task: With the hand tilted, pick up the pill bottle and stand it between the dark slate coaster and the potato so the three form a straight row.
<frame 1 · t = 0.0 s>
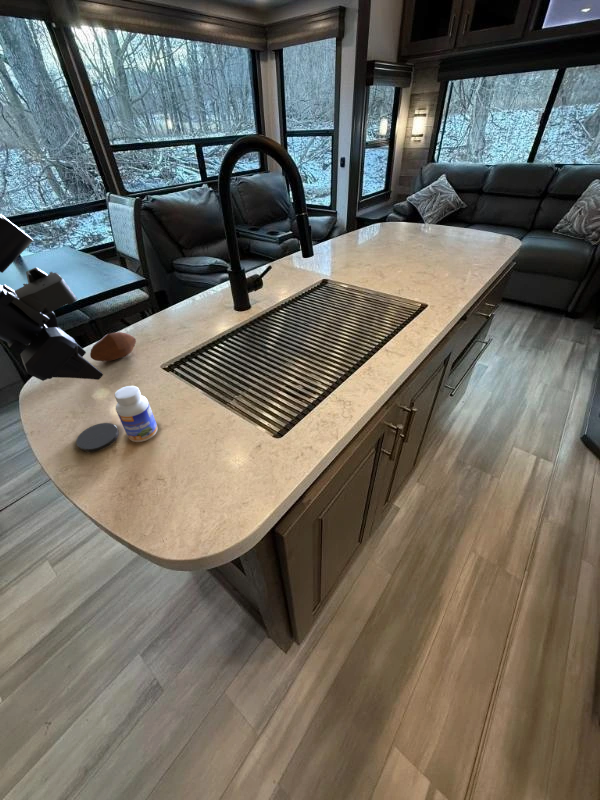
hand: (92, 365, 53), 16 cm above the worktop, tool tilted 35°, fingers open, 9 cm apart
potato: (117, 357, 86), on the worktop
coaster: (98, 438, 62), on the worktop
pill bottle: (143, 433, 64), on the worktop
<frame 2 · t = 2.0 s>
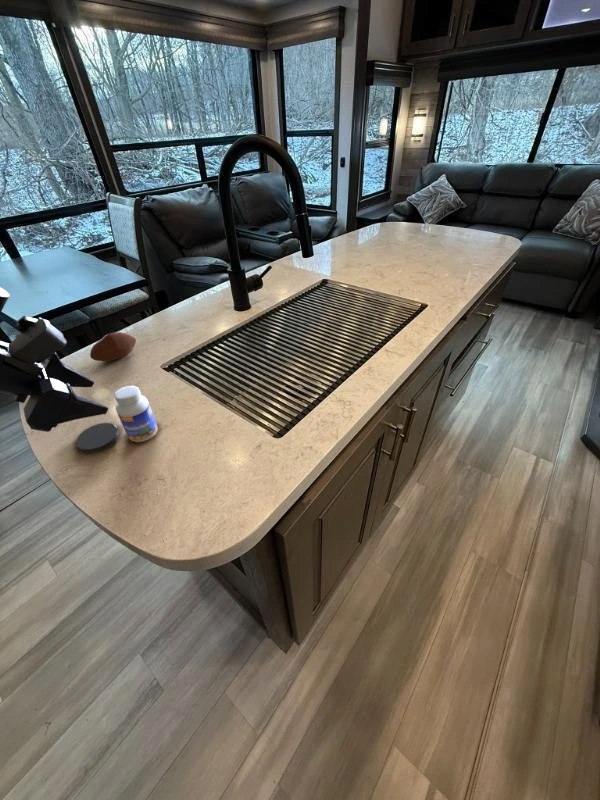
hand: (99, 396, 55), 11 cm above the worktop, tool tilted 45°, fingers open, 9 cm apart
nothing on the worktop moved.
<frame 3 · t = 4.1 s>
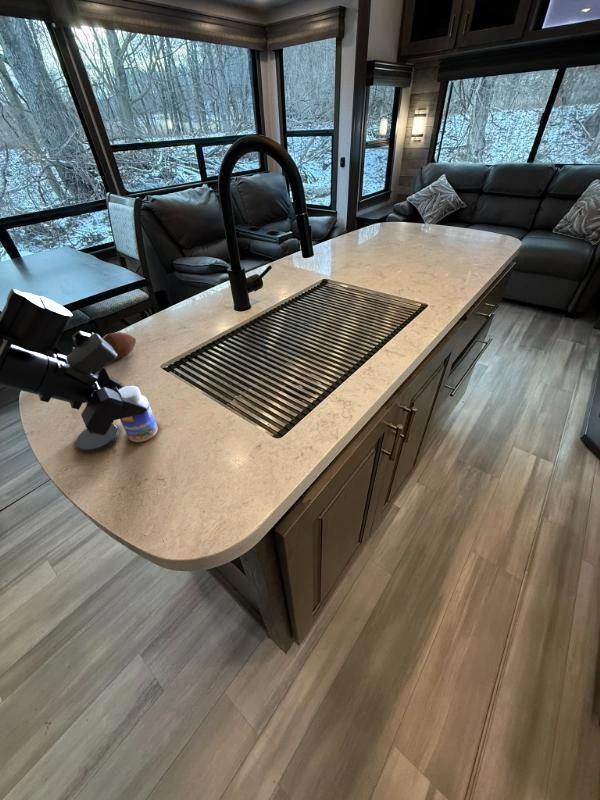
hand: (140, 403, 60), 7 cm above the worktop, tool tilted 45°, fingers closed on pill bottle, 5 cm apart
pill bottle: (143, 433, 64), on the worktop, touching gripper
everything else where it was.
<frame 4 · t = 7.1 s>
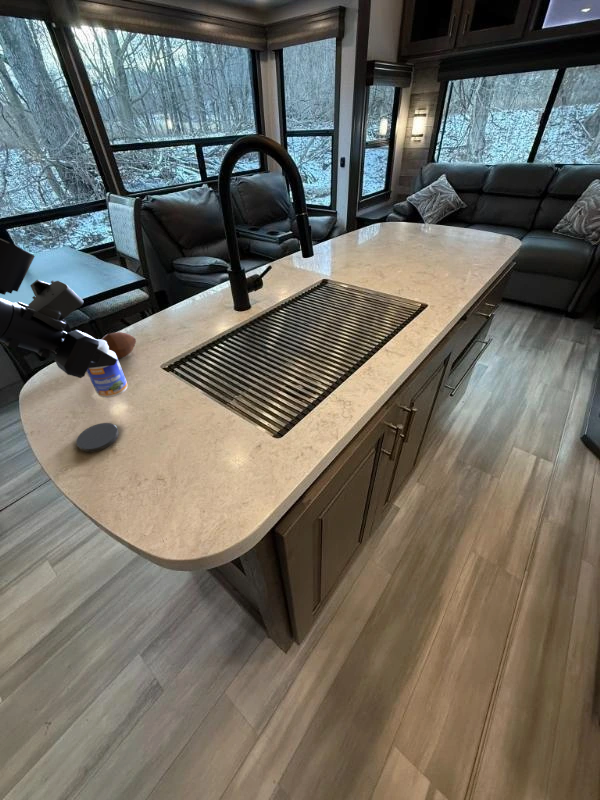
hand: (107, 357, 60), 13 cm above the worktop, tool tilted 45°, fingers closed on pill bottle, 5 cm apart
pill bottle: (113, 390, 63), point 6 cm above the worktop, touching gripper
everything else where it was.
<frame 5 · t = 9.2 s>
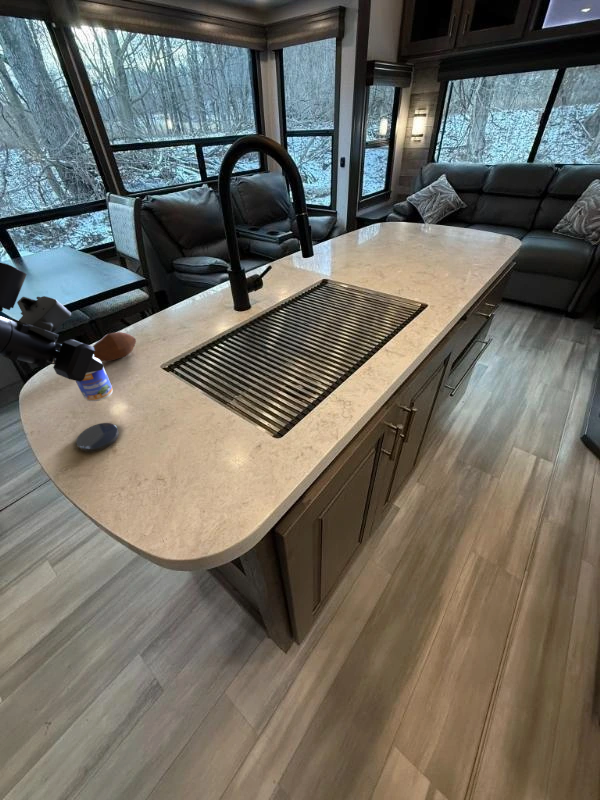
hand: (92, 363, 65), 10 cm above the worktop, tool tilted 45°, fingers closed on pill bottle, 5 cm apart
pill bottle: (99, 395, 68), point 3 cm above the worktop, touching gripper
everything else where it was.
when the fingers open (7 cm above the worktop, at t = 10.6 s): pill bottle stays where it is, on the worktop.
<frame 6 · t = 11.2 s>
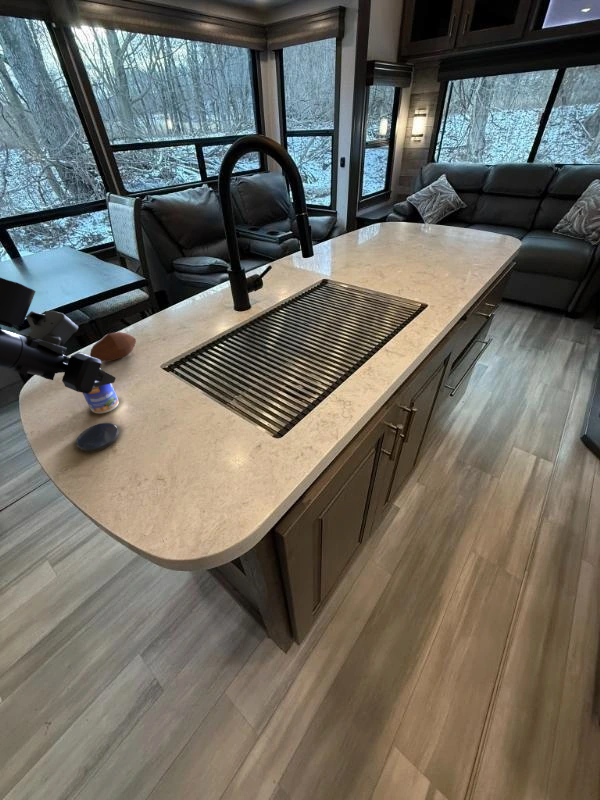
hand: (99, 374, 67), 7 cm above the worktop, tool tilted 45°, fingers open, 9 cm apart
pill bottle: (106, 406, 70), on the worktop
everything else where it was.
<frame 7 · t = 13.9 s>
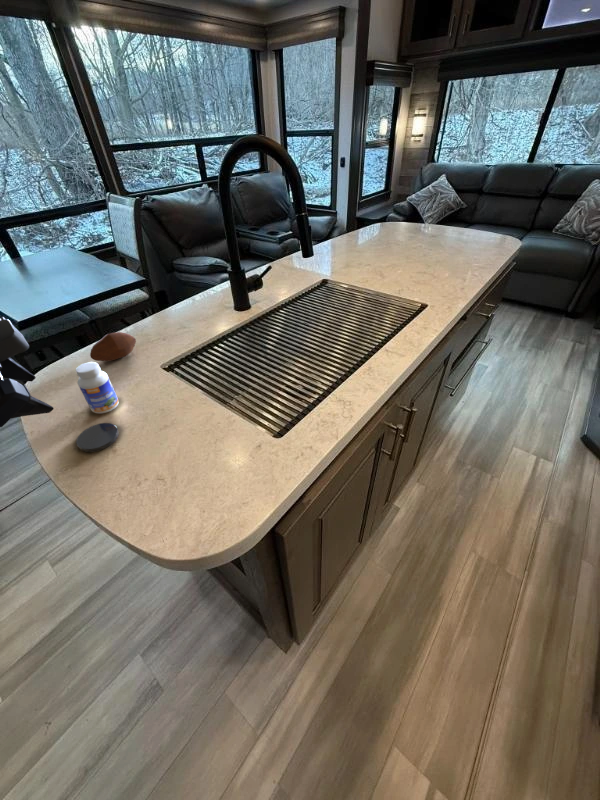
hand: (42, 394, 58), 9 cm above the worktop, tool tilted 35°, fingers open, 9 cm apart
nothing on the worktop moved.
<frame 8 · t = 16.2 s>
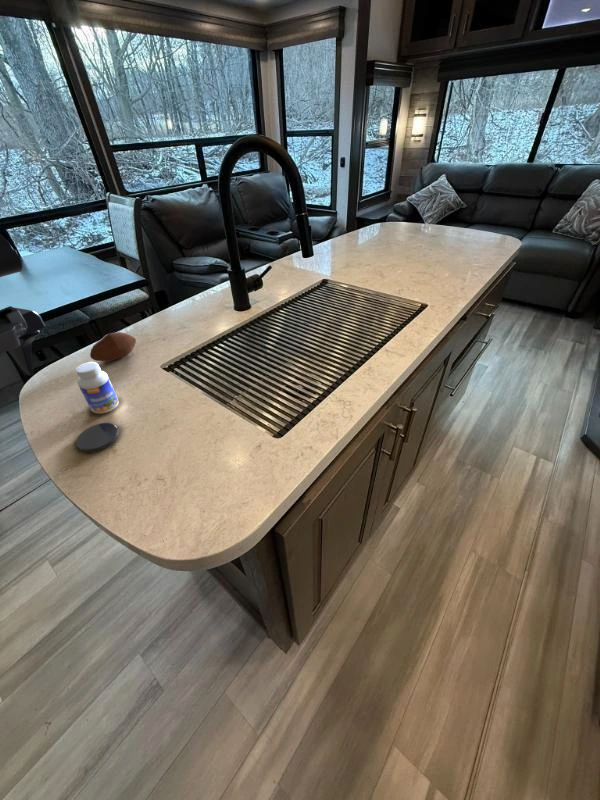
hand: (3, 390, 53), 13 cm above the worktop, tool pointing down, fingers open, 9 cm apart
nothing on the worktop moved.
at the end: pill bottle 0.2 cm from the target spot on the worktop beside the coaster, on the worktop; pill bottle tilted 0°; potato moved 0.2 cm from its start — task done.
